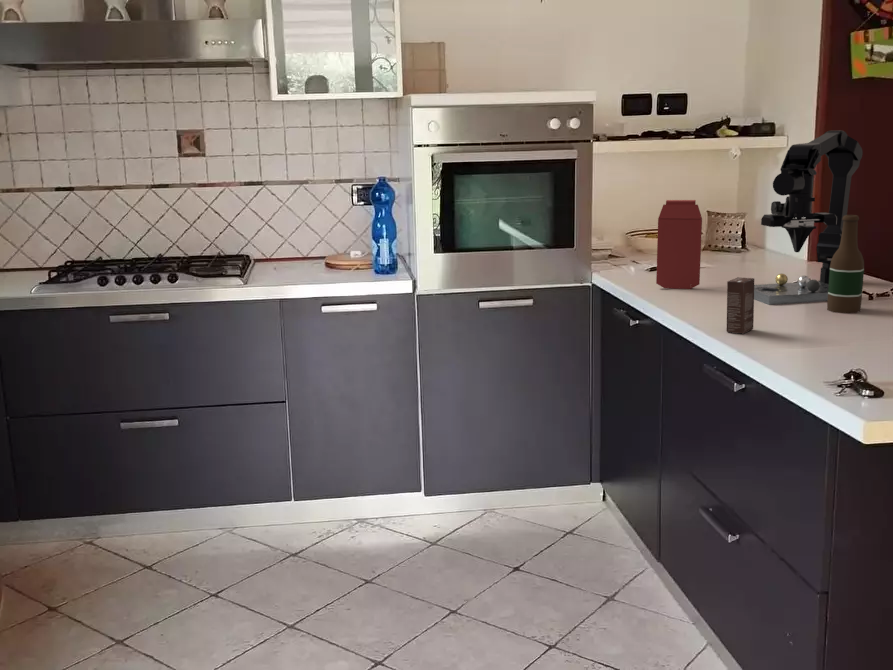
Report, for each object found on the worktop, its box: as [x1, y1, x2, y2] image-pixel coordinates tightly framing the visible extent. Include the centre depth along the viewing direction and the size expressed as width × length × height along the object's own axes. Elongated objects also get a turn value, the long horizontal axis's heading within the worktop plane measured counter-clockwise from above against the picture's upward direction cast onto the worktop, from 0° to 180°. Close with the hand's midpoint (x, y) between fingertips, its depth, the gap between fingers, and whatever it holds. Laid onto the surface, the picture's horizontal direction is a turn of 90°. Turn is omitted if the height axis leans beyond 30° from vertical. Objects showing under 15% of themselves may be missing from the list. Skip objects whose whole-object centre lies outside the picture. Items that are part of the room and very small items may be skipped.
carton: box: [655, 199, 703, 290], centre depth 260 cm, size 12×5×25 cm, turn 74°
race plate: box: [754, 280, 829, 306], centre depth 244 cm, size 23×16×2 cm
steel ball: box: [796, 275, 811, 287], centre depth 244 cm, size 3×3×3 cm
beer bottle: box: [826, 214, 865, 314], centre depth 222 cm, size 8×8×24 cm
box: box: [726, 276, 755, 335], centre depth 206 cm, size 6×4×12 cm
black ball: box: [807, 279, 820, 292], centre depth 238 cm, size 3×3×3 cm
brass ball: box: [775, 273, 789, 285], centre depth 248 cm, size 3×3×3 cm
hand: (796, 252), depth 241 cm, fingers closed
